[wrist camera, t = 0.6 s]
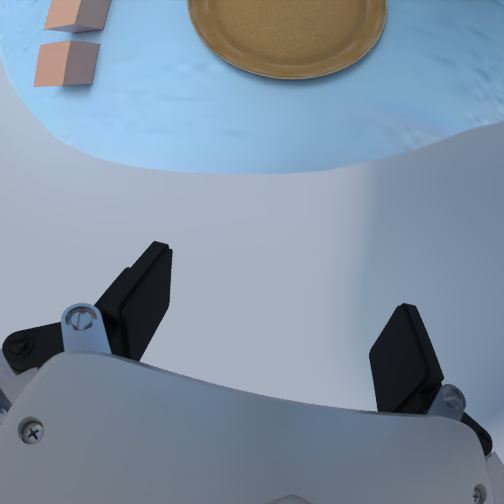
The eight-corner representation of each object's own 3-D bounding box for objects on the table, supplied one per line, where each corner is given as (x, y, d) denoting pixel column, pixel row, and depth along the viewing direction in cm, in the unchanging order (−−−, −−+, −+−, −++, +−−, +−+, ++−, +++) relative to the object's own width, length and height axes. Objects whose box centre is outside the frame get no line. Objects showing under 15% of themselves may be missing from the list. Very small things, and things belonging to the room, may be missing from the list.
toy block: (82, -2, 27) (54, -9, 21) (113, -8, 27) (86, -18, 21) (72, 32, 30) (43, 29, 24) (103, 29, 30) (74, 23, 24)
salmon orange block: (69, 46, 31) (40, 45, 25) (99, 44, 31) (70, 40, 25) (63, 83, 35) (33, 86, 29) (92, 83, 35) (62, 85, 28)
